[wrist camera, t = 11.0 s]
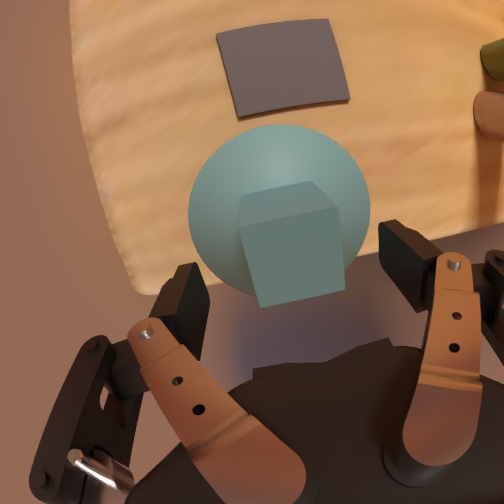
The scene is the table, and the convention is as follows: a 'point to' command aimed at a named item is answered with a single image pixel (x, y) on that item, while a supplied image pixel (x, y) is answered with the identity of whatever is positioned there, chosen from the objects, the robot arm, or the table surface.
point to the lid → (279, 213)
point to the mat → (282, 65)
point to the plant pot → (494, 59)
